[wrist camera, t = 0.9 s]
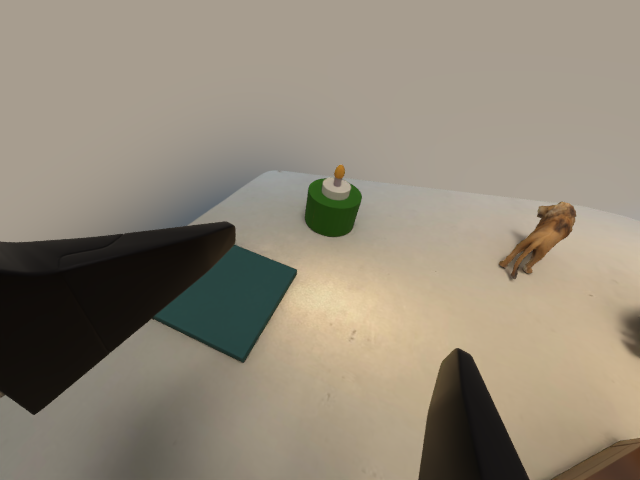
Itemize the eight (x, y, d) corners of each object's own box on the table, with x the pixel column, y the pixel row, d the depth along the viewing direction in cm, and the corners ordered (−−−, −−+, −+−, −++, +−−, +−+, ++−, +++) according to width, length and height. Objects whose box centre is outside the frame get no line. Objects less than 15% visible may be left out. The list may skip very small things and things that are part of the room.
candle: (294, 215, 41) (299, 159, 34) (328, 200, 45) (339, 147, 38) (330, 244, 37) (343, 187, 30) (363, 223, 42) (381, 170, 35)
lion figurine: (514, 232, 46) (551, 192, 40) (545, 248, 44) (589, 208, 38) (493, 271, 38) (537, 227, 32) (531, 293, 35) (586, 250, 29)
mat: (243, 363, 23) (242, 359, 23) (142, 313, 25) (139, 308, 25) (296, 274, 32) (297, 269, 31) (218, 242, 34) (217, 237, 33)
